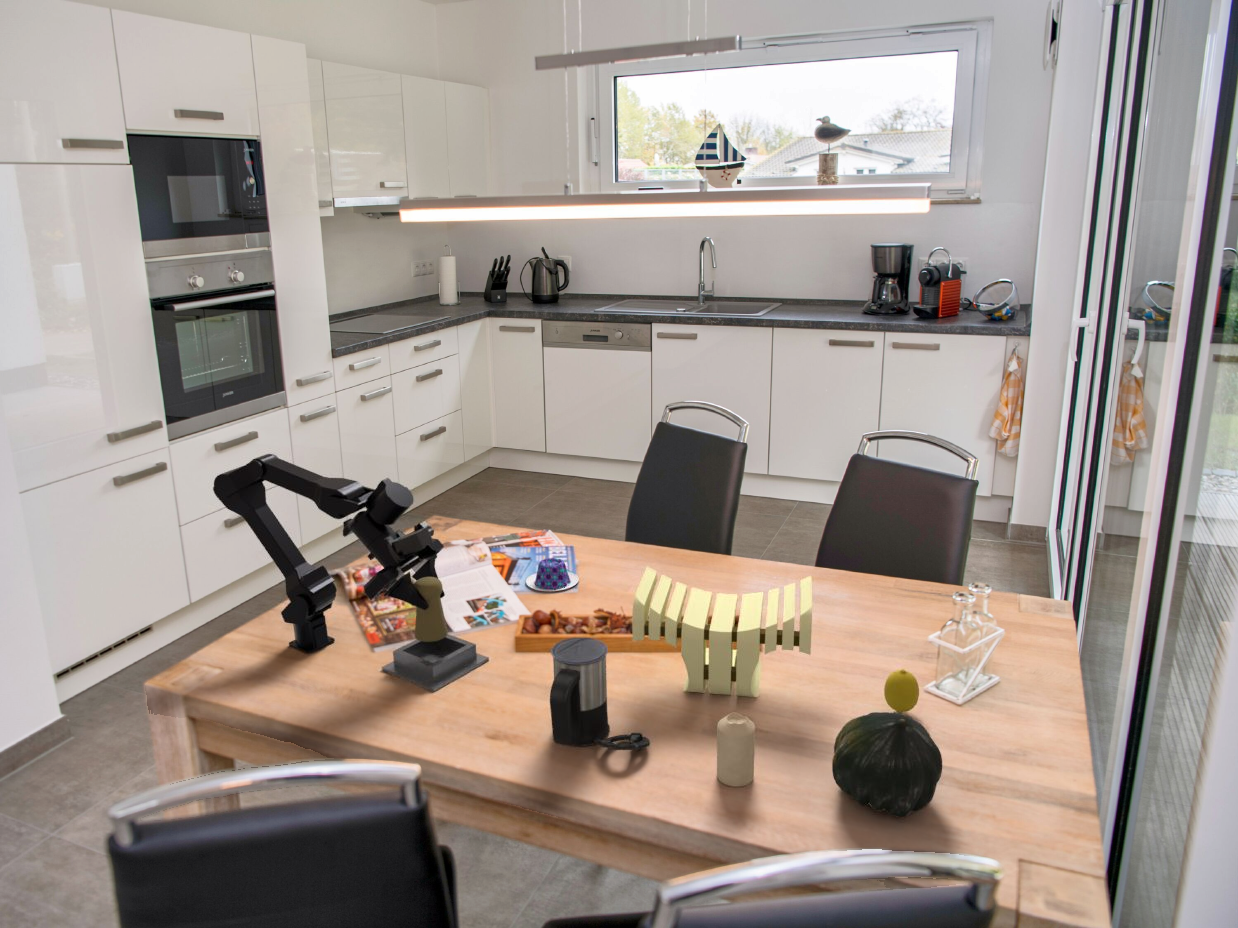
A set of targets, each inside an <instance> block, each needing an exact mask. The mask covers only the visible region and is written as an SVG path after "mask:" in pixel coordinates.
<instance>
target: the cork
mask: <svg viewBox="0 0 1238 928" xmlns="http://www.w3.org/2000/svg"><path fill="white" fill-rule="evenodd" d="M442 583H443V582H442V581H441V580H440V579H439V577H438V578H435V577H423V578H420V579H418V580H417V581H416V580H415V582H414V584H413V585H414V586H415V588H416V589H417V590H418V591H419V593H420V594H421V595H422V597H423V598H424V599H425V601H426V602H427V604H428V605H429V608H428V609H426V610H423V609H421V608H418V607H416V611H415V627H414V638H415V640H419V641H424V642H433V641H438V640H440V639H443V638H444V637H446V636H447V634H449V632H448V627H447V626H448V625H447V623H446V617H445V613H444V608H443V604H442V598H440V595H441V593H442V589H443V584H442Z"/></svg>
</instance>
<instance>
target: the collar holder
mask: <svg viewBox="0 0 1238 928" xmlns="http://www.w3.org/2000/svg"><path fill="white" fill-rule="evenodd" d="M476 645H477V644H476V643H473V642H471V641H468V640H464V639H462V638H460V637H457V636H454V635H452V634H450V633H448V634H447V636H446V637H444V638H443V639H440V640H438V641H433V642H424V641H419V640H417V639H415V640H413V641H411V642H408V643H407V644H404V645H403V646H400V647H399V648H397V649H394V650H392V657H393V658H392V659H393V661H390V662H389V663H386V664H385V665H383V666H381V670H382V671H384V672H386V673H389V674H391V675H393V676H396V677H398V678H400V679H402V680H405V681H407V682H409V683H412V684H414V685H416V686H419V687H421V688H423V689H425V690H428V691H430V692H433V693H435V692H436V691H438V690H440V689H441V688H443V687H445V686H447V685H449V684H450V683H451V682H454V681H456V680H458V679H459V678H461V677H462V676H464V675H466V674H467V673H469V672H471V671H473V670H474V669H476V668H478V667H480V666H482V665H484V664H485V663H488V662H489V661H490V658H489V656H486V655H483V654H481V653H478V652H477V646H476Z"/></svg>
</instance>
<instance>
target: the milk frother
mask: <svg viewBox="0 0 1238 928" xmlns="http://www.w3.org/2000/svg"><path fill="white" fill-rule="evenodd" d="M608 651H609V650H608V646H607V644H606V643H604V642H603V641H601V640H598V639H595V638H591V637H584V636H583V637H571V638H566V639H564V640H561V641H559V642H557V643H555V644H554V645H553V646H552V648H551V649H550V654H551V656H552V658H553V661H552V662H553V681H552V684H551V687H550V693H549V707H550V716H551V728H552V730H551V731H552V737H553V738H552V741H553V743H555V744H558V745H561V746H562V745H563V746H569V745H570V746H574V747H587V746H592V745H595V744H597V745H599V746H600V747H602V748H605V749H608V750H609V749H610V750H613V751H632V750H633V751H635V750H636V751H637V750H643V749H646V748H648V747H650V744H651V741H650V739H649V737H646V736H644V735H643V734H642V733H641V732H631V733H630V734H619V735H613V736H610V737H608V736H609V734H610V731H611V727H610V725H609V717H608V695H607V694H608V690H607V687H608V686H607V685H608V684H607V682H608V680H607V655H608ZM621 741H628V742H627V743H616V742H621Z"/></svg>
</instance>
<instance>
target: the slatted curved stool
mask: <svg viewBox="0 0 1238 928" xmlns="http://www.w3.org/2000/svg"><path fill="white" fill-rule="evenodd" d="M812 580H813V579H812V575H809V576H807V577H804V578H802V579H800V588H799V591H800V592H799V595H800V596H799V630H795V618H796V617H795V612H796V611H795V610H796V608H795V607H796V582H791V583H789V584H787V585H786V584H785V585H784V590H783V591H784V592H783V611H782V612H783V615H782V629H778V621H779V620H778V619H779V603H780V602H779V601H780V587H776V588H773V589H769V590H768V595H767V596H768V597H767V609H766V618H765V628H762V620H763V619H762V618H763V609H764V608H763V606H764V591H759V592H752V593H743V594H742V597H741V603H740V604H741V605H740V610H739V617H738V618H739V619H738V625H737V626H735V621H736V613H737V607H738V606H737V605H738V599H739V598H738V597H739V595H738V594H737V593H735V594H734V593H732V594H731V593H730V594H729V593H720V592H719V593H718V592H717V593H716V597H715V602H714V605H713V607H714V608H713V611H712V615H711V621H710V624H709V623H708V622H709V616H710V610H711V605H712V600H713V592H712V591H709V590H708V591H707V590H705V589H704V590H703V589H700V588H696V587H693V586H692V587H691V590H690V594H689V597H688V600H687V604H686V608H685V611H684V615H683V610H684V605H685V601H686V597H687V593H688V585H686V584H685V583H681V582H679V581H676V583H675V586H674V590H673V593H672V596H671V599H670V603H669V605H668V602H669V598H670V594H671V591H672V588H673V579H672V578H670V577H668V576H666V575H664V574H661V577H660V579H659V582H658V571H656V570H655V569H653V568H651V567H650V566H649V565H646V568H645V571H644V572H643V575H642V578H641V579H640V582H639V584H638V586H637V590H636V592H635V594H634V598H633V604H632V617H631V619H632V625H631V626H632V642H633V643H635V642H641V641H644V639H645V637H646V636H648V641H656V642H660V640H661V638H663V637H664V642H665V643H666V644H668V645H670V646H672V647H674V648H675V649H677V646H678V642H679V639H680V640H681V642H680V644H681V647H680V648H681V651H680V652H681V653H680V656H681V658H682V661H683V662H684V665H685V669H686V672H687V675H686V679H685V683H684V688H683V691H684V692H692V693H701V694H702V693H703V694H704V693H705V691H706V689H707V686H706V685H707V684H708V693H709V694H715V695H716V694H717V695H728V696H731V695H732V694H733V693H732V692H733V686H734V683H735V695H736V696H739V697H741V696H742V697H752V698H753V697H754V698H758V697H759V694H760V683H761V682H760V681H761V671H762V659H761V658H760V654H761V653H760V651H761V645H764V655H767V654H768V653H772V652H775V651H777V646H781V650H782V651H794V647H798V652H799V653H803V654H806V655H809V656H810V655H811V653H812V652H811V651H812V649H811V648H812V630H813V629H812V628H813V627H812V626H813V625H812V624H813V592H812V591H813V587H812ZM657 582H658V585H657ZM656 585H657V588H656ZM655 588H656V589H655ZM654 590H655V592H654ZM652 597H653V598H652ZM667 605H668V608H667ZM666 610H667V611H666ZM682 615H683V618H682ZM681 620H682V621H681ZM707 641H708V647H707ZM734 643H736V649H734ZM707 682H708V683H707Z"/></svg>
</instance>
